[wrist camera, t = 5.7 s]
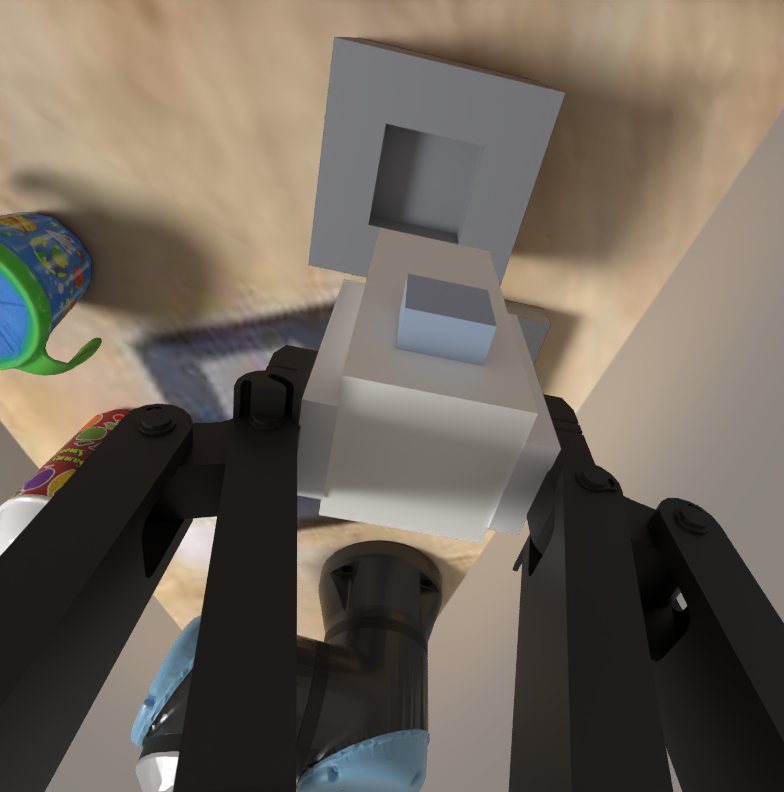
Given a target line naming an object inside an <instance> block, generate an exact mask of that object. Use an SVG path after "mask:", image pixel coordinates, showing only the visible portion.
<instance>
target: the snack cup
mask: <svg viewBox="0 0 784 792" xmlns="http://www.w3.org/2000/svg"><path fill="white" fill-rule="evenodd" d="M91 263H92V260H91V258H90V255H89V253H88V252H86V251H85V249H84V247H83V245H82V243H81V242H80V240H79V239H78V238H77V237H76V236H75V235H74V234H73V233H72V232H71V231H70V230H68V229H67V228H65V227H64V226H63V225H62V224H61V223H60V222H59V221H57V220H56V219H55V218H54V217H51V216H44V215H39V214H36V213H29V212H19V213H13V214H7V215H1V216H0V370H6V369H11V368H15V369H19V370H22V371H25V372H28V373H32V374H37V375H56V374H60V373H64V372H66V371H68V370H71V369H73V368H74V367H76V366H77V365H79V364H81V363H83V362H84V361H86V360H87V359H88V358H89V357H91V356H92V355H93V354H94V353H95V352H96V351H97V349H98V348H99V347H100V345H101V342H102V340H101V338H94V339H92V340H91V341H90V342H88V343H87V344H86V345H85V346H84V347H82V348H81V349H80V350H79V352H78V353H77V354H76V355H75V357H74V358H73V359H72V360H71V361H70V362H69V363H65V362H61V361H58V360H54V359H52V358H51V357H50V356H48V354H47V352H46V349H45V347H46V343H47V341H48V338H49V335H50V333H51V332H52V331H53V329H54V328H55V327H56V326H57V325H58V324H59V322H60V321H61V320H62V319H63V318H64V317H65V316H66V315H67V313H68V312H69V311H70V310H71V309H72V308H73V306H74V305H75V304H76V302H77V301H78V300H79V299H80V298H81V297H82V296H83V295H84V293H85V291H86V289H87V288H88V286H89V283H90V281H91V277H92V271H91Z"/></svg>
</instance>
